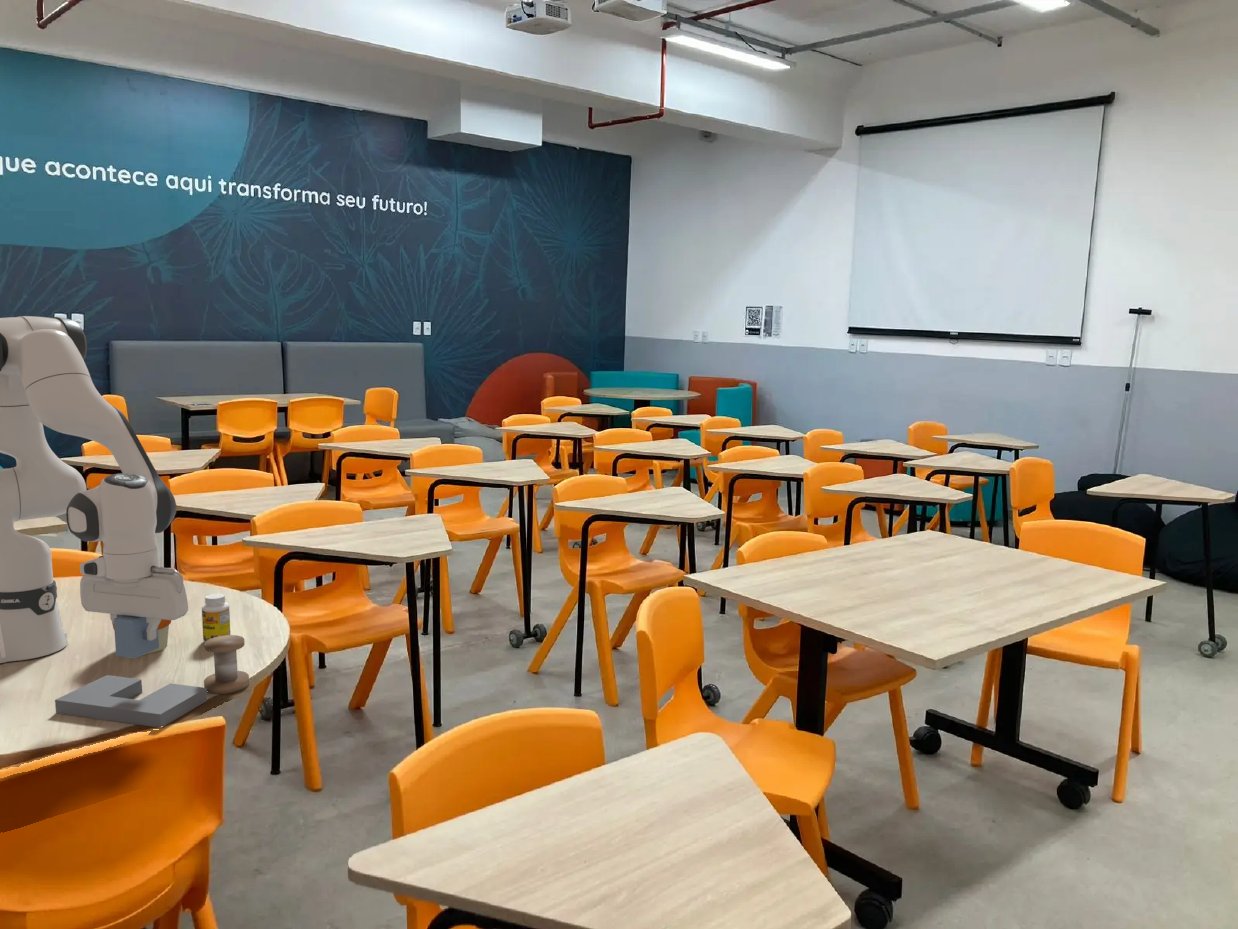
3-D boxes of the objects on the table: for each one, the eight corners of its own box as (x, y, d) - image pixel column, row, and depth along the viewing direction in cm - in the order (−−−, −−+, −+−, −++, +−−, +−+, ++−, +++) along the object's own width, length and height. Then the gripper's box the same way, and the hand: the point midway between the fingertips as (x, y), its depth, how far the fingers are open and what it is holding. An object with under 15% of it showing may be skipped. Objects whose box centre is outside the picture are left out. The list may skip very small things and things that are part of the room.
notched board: (56, 713, 164) (54, 699, 164) (107, 687, 176) (106, 675, 175) (161, 728, 159) (160, 714, 159) (207, 700, 171) (206, 688, 170)
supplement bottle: (197, 642, 201) (195, 597, 199) (219, 634, 206) (217, 590, 204) (214, 647, 198) (212, 601, 197) (236, 639, 203) (234, 594, 201)
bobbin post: (195, 691, 175) (192, 646, 173) (222, 676, 182) (220, 632, 181) (231, 696, 173) (229, 650, 171) (257, 680, 181) (255, 636, 179)
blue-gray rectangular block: (116, 656, 165) (113, 618, 164) (140, 645, 171) (138, 609, 170) (135, 658, 164) (132, 620, 163) (159, 647, 170) (156, 610, 169)
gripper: (193, 564, 166) (198, 637, 168) (98, 556, 171) (104, 627, 173) (169, 573, 160) (173, 649, 162) (71, 564, 164) (77, 638, 167)
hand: (137, 638), depth 167 cm, fingers closed on blue-gray rectangular block, 4 cm apart
